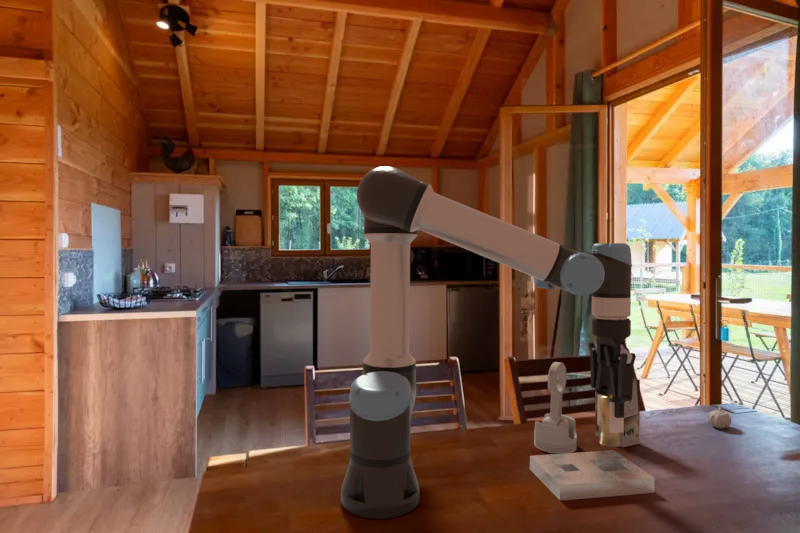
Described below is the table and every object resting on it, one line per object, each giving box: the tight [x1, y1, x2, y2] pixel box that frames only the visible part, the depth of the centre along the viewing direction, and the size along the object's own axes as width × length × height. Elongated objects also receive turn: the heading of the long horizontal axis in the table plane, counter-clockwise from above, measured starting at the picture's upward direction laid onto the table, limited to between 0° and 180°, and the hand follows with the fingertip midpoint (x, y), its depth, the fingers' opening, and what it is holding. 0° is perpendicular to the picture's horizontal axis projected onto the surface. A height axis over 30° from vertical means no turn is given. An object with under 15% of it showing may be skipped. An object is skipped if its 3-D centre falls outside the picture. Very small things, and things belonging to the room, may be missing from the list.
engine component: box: [533, 361, 578, 454], centre depth 124 cm, size 11×20×10 cm
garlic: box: [707, 406, 732, 430], centre depth 137 cm, size 6×5×5 cm
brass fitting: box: [598, 394, 621, 448], centre depth 105 cm, size 4×4×10 cm
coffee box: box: [594, 377, 641, 448], centre depth 127 cm, size 9×6×16 cm
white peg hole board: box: [529, 449, 655, 501], centre depth 105 cm, size 20×14×3 cm
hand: (610, 428), depth 105 cm, fingers closed on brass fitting, 4 cm apart
